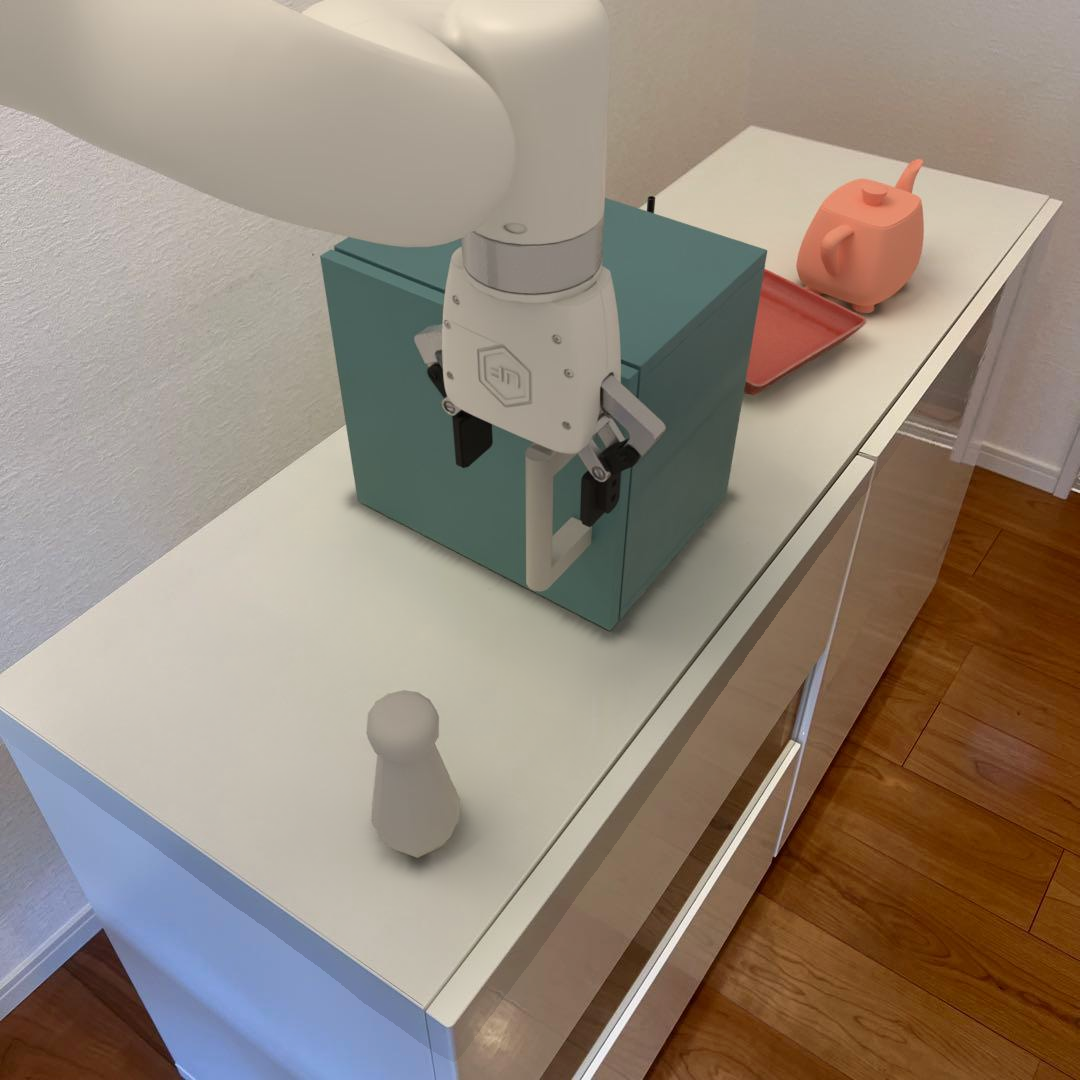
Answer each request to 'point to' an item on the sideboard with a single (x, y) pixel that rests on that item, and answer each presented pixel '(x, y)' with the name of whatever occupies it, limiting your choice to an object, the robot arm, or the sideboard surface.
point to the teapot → (864, 241)
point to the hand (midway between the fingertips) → (534, 483)
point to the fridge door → (429, 454)
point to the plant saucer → (793, 330)
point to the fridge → (657, 363)
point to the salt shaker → (410, 775)
